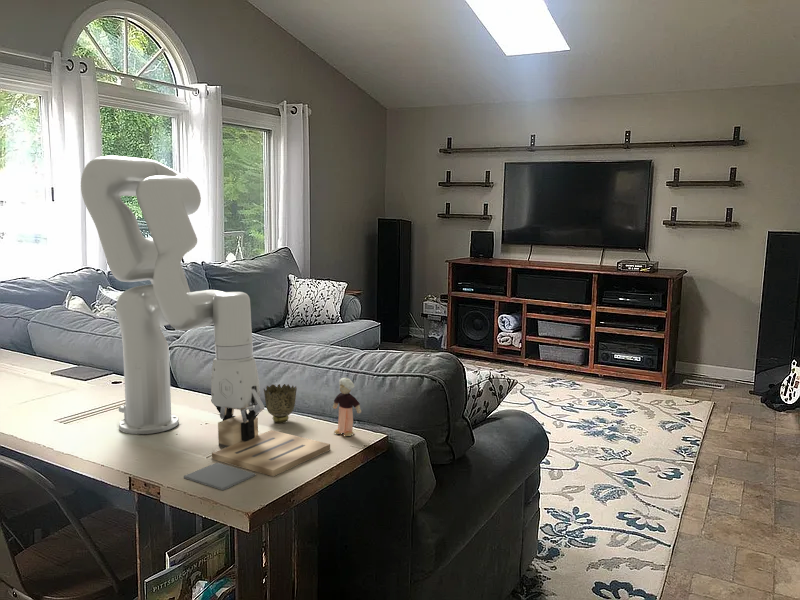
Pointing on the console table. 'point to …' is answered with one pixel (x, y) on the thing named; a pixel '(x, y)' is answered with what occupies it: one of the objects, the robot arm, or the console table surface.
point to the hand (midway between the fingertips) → (239, 437)
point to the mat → (219, 476)
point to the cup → (280, 401)
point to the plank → (271, 452)
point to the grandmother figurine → (346, 407)
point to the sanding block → (232, 431)
